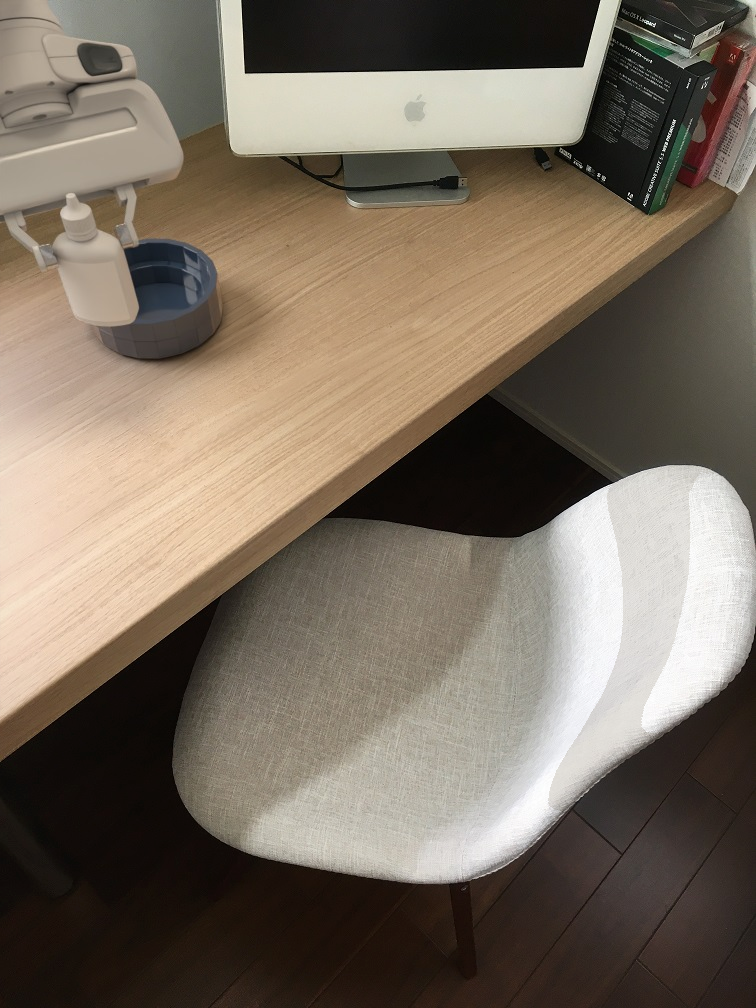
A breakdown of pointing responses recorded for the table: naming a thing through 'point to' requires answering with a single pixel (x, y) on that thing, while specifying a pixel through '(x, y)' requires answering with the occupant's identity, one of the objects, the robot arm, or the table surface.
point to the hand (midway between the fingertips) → (91, 257)
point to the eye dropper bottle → (93, 269)
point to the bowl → (167, 301)
